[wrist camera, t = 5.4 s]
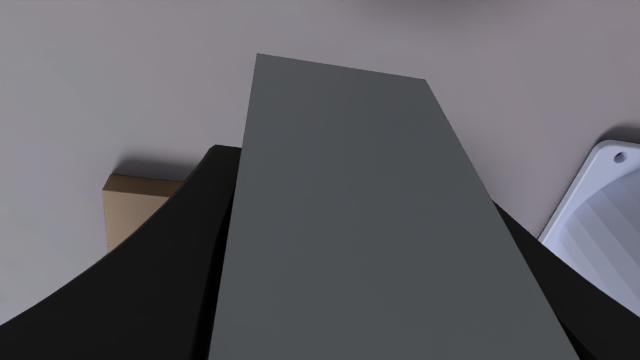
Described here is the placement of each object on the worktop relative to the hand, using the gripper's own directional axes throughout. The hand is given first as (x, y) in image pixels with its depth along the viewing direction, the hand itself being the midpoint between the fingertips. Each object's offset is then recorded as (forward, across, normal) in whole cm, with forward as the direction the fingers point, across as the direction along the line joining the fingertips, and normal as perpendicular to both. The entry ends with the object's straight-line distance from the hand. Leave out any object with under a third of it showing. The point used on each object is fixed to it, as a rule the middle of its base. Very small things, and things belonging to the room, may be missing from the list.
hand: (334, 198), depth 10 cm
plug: (+2, 0, 0) cm, 2 cm away
